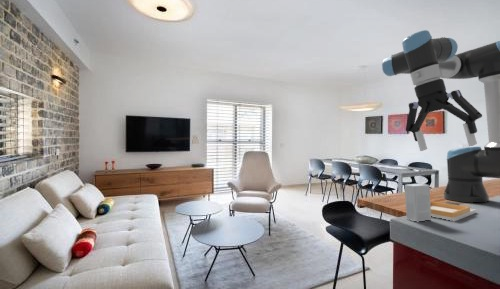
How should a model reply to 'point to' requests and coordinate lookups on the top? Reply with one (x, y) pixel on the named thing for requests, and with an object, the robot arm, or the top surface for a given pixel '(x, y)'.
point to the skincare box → (418, 202)
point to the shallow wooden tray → (450, 210)
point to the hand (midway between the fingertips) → (446, 147)
